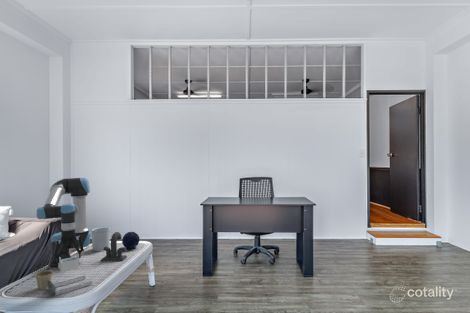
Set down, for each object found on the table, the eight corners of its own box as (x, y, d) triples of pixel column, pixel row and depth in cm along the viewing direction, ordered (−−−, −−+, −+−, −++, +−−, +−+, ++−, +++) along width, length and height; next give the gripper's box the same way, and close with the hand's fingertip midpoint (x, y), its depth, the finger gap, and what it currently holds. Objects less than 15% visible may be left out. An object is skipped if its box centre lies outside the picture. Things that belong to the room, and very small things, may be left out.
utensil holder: (101, 245, 265) (101, 226, 265) (114, 247, 260) (113, 227, 260) (87, 250, 252) (87, 230, 252) (100, 252, 246) (100, 231, 246)
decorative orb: (135, 245, 246) (138, 228, 255) (117, 245, 246) (121, 229, 255) (140, 251, 257) (142, 235, 266) (123, 251, 257) (126, 235, 266)
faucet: (131, 254, 240) (130, 229, 240) (123, 260, 224) (122, 234, 224) (109, 254, 240) (108, 230, 240) (100, 261, 224) (99, 235, 224)
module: (59, 269, 178) (59, 259, 178) (76, 266, 184) (75, 255, 184) (61, 272, 174) (61, 262, 174) (78, 268, 180) (77, 258, 180)
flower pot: (50, 282, 186) (49, 269, 186) (55, 286, 180) (55, 272, 180) (32, 288, 179) (32, 274, 179) (38, 292, 173) (37, 277, 173)
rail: (47, 289, 177) (47, 280, 177) (85, 278, 191) (84, 271, 191) (53, 296, 167) (53, 287, 167) (91, 284, 182) (91, 276, 182)
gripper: (49, 233, 169) (49, 272, 169) (89, 227, 184) (89, 262, 184) (46, 231, 174) (46, 269, 174) (85, 225, 190) (86, 259, 189)
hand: (68, 265), depth 179 cm, fingers closed on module, 9 cm apart
